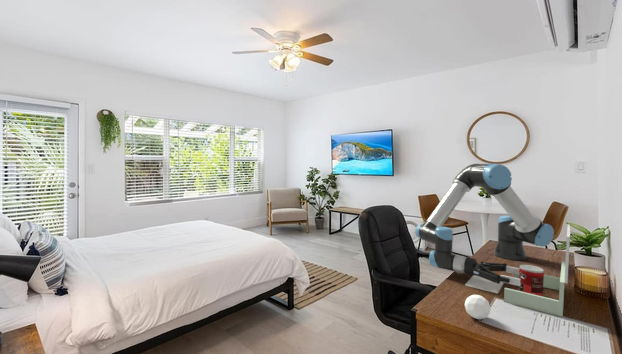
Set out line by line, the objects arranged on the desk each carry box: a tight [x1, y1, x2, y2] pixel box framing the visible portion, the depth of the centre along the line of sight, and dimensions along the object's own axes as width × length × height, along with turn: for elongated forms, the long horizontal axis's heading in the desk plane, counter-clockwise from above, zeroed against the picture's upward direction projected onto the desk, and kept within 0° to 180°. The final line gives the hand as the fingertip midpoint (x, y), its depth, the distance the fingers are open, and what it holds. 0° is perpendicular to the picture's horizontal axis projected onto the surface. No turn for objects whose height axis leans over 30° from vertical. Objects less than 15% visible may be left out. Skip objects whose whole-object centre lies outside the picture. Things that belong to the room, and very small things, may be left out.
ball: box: [464, 294, 492, 320], centre depth 103 cm, size 8×8×8 cm
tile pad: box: [465, 275, 505, 295], centre depth 131 cm, size 16×12×1 cm
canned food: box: [518, 264, 545, 297], centre depth 120 cm, size 8×8×11 cm
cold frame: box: [503, 223, 571, 318], centre depth 119 cm, size 28×18×28 cm, turn 139°
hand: (522, 277), depth 122 cm, fingers open, 13 cm apart
